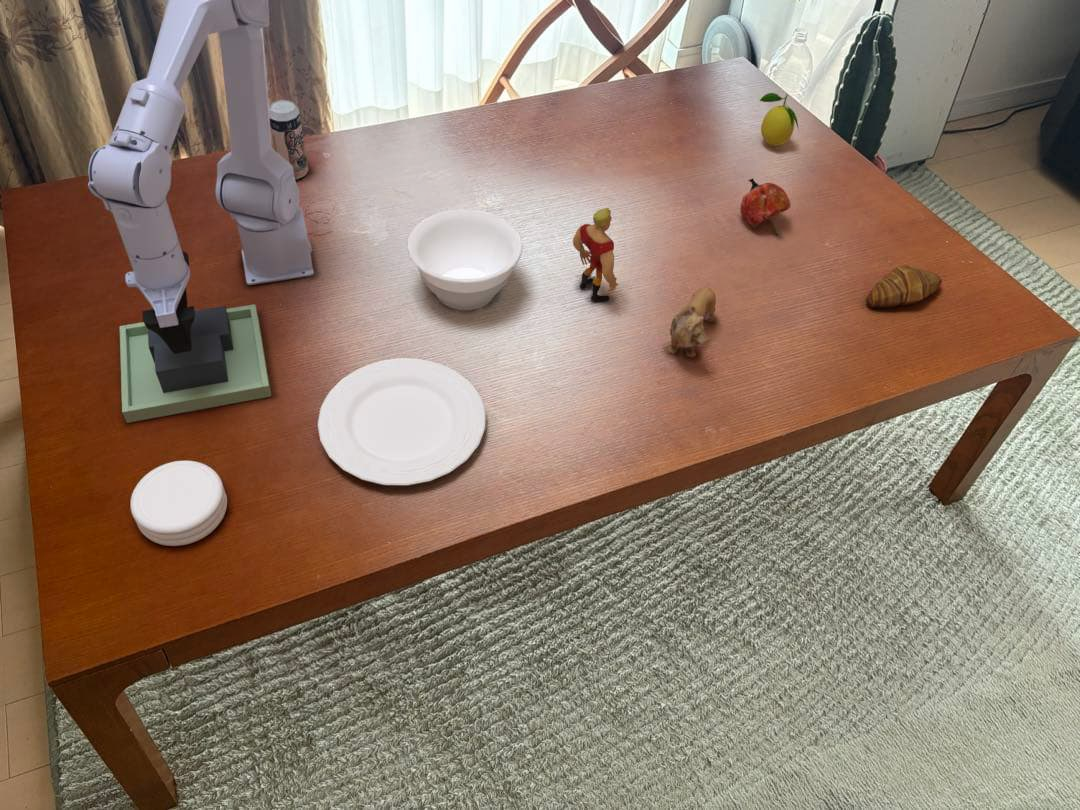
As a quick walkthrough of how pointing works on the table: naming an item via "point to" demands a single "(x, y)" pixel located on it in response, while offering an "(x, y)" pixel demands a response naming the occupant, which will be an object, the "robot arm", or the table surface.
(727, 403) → the table surface
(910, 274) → the croissant
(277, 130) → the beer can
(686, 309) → the lion figurine
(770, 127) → the lemon
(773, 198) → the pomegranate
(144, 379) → the tray
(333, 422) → the plate
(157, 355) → the loose pad
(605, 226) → the action figure
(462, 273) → the bowl
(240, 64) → the robot arm
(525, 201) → the table surface
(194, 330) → the pad
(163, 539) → the white short cylinder
